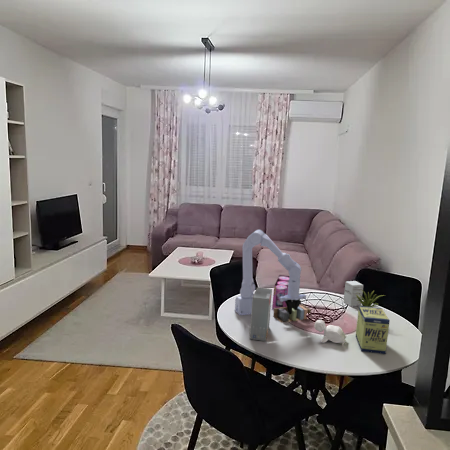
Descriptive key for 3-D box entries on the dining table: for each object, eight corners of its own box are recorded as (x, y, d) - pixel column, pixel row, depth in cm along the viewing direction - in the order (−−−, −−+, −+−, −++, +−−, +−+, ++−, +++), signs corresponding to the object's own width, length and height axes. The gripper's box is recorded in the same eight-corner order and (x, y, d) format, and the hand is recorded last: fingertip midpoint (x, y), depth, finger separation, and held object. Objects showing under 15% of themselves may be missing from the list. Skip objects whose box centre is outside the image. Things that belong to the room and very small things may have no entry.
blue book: (300, 319, 209) (301, 310, 208) (294, 315, 214) (294, 306, 213) (303, 319, 210) (304, 310, 209) (297, 314, 215) (297, 305, 214)
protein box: (361, 351, 179) (365, 318, 176) (354, 336, 194) (358, 305, 191) (386, 354, 178) (390, 320, 175) (377, 338, 193) (381, 307, 190)
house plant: (378, 316, 220) (381, 287, 217) (385, 327, 206) (389, 296, 204) (351, 314, 221) (354, 285, 218) (356, 324, 208) (359, 293, 205)
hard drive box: (266, 342, 184) (269, 299, 180) (249, 339, 185) (251, 297, 182) (269, 327, 199) (272, 288, 195) (253, 325, 200) (256, 286, 197)
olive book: (293, 320, 207) (293, 311, 206) (286, 316, 213) (287, 307, 212) (296, 320, 208) (296, 310, 207) (289, 315, 213) (290, 306, 212)
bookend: (283, 321, 205) (284, 313, 204) (277, 317, 211) (278, 308, 210) (288, 321, 206) (289, 312, 205) (282, 316, 212) (283, 308, 211)
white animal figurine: (341, 344, 191) (311, 327, 195) (349, 330, 189) (320, 313, 193) (339, 352, 183) (308, 334, 187) (348, 337, 181) (317, 319, 185)
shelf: (281, 323, 204) (281, 313, 203) (273, 317, 212) (274, 307, 211) (310, 319, 211) (310, 309, 210) (301, 314, 218) (302, 303, 217)
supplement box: (342, 302, 239) (345, 281, 237) (353, 301, 242) (356, 280, 239) (350, 306, 232) (352, 285, 230) (361, 305, 235) (363, 284, 232)
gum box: (286, 313, 218) (287, 288, 216) (271, 311, 220) (272, 286, 218) (290, 298, 241) (292, 276, 239) (277, 296, 243) (278, 274, 241)
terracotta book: (304, 319, 210) (304, 309, 209) (297, 314, 215) (298, 305, 214) (307, 318, 210) (307, 309, 210) (300, 314, 216) (301, 305, 215)
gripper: (285, 291, 201) (283, 317, 203) (310, 289, 207) (308, 314, 209) (278, 287, 207) (276, 312, 210) (302, 284, 213) (300, 309, 215)
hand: (291, 313), depth 210 cm, fingers closed on olive book, 2 cm apart
